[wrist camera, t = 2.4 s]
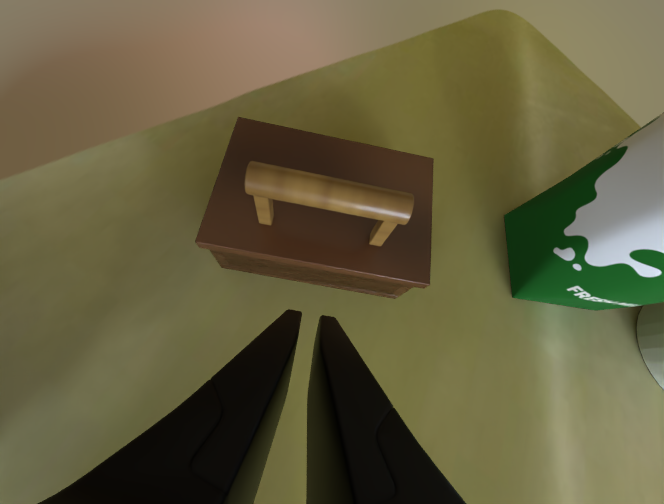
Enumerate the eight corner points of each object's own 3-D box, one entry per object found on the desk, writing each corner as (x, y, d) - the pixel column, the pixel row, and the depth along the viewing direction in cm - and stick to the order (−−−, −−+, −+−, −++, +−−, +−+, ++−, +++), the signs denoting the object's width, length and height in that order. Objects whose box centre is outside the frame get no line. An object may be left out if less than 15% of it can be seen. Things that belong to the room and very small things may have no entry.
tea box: (395, 299, 22) (423, 280, 17) (221, 267, 21) (201, 239, 16) (402, 204, 25) (428, 166, 20) (249, 173, 24) (239, 126, 19)
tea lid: (424, 288, 17) (477, 257, 12) (198, 247, 16) (159, 196, 11) (428, 165, 20) (472, 102, 15) (239, 126, 19) (223, 45, 14)
